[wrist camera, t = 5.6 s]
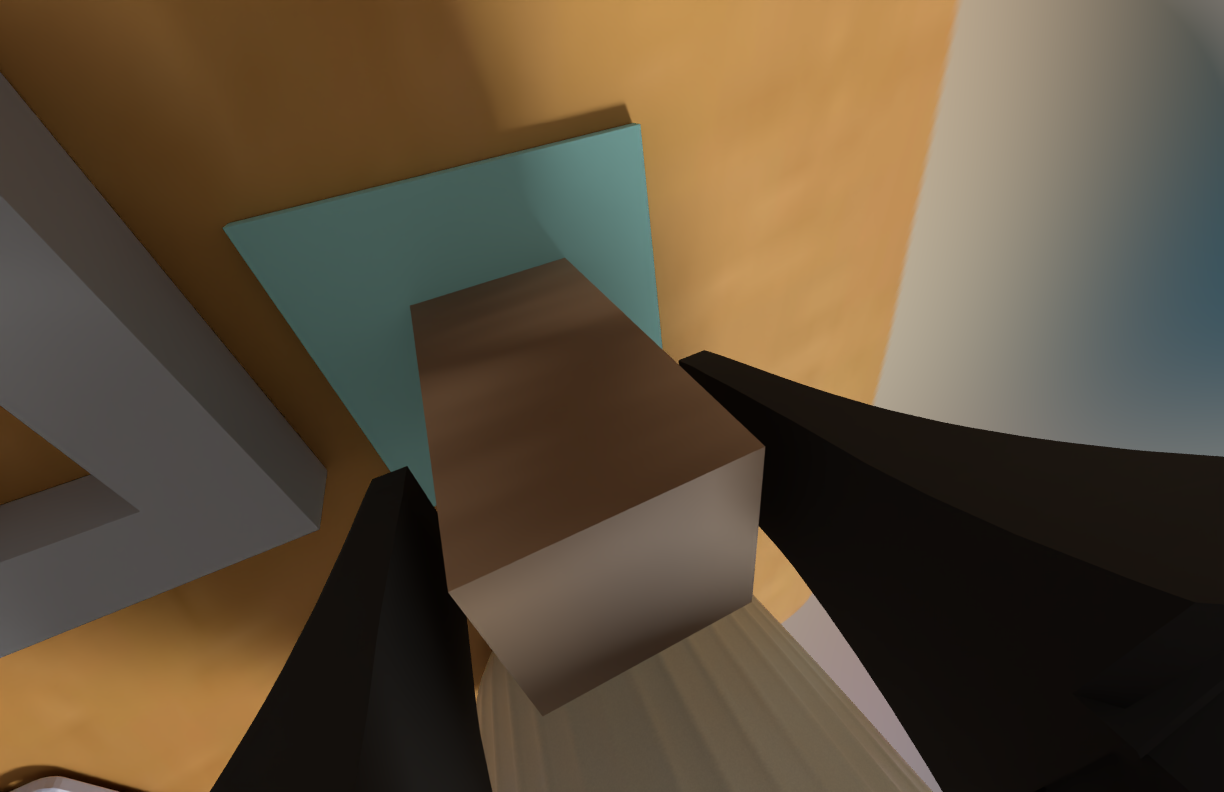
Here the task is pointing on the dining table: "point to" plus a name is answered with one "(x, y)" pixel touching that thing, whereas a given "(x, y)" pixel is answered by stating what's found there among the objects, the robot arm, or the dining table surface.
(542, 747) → the canister
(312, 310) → the mat
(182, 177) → the dining table surface
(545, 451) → the walnut block
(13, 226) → the pocket plate
